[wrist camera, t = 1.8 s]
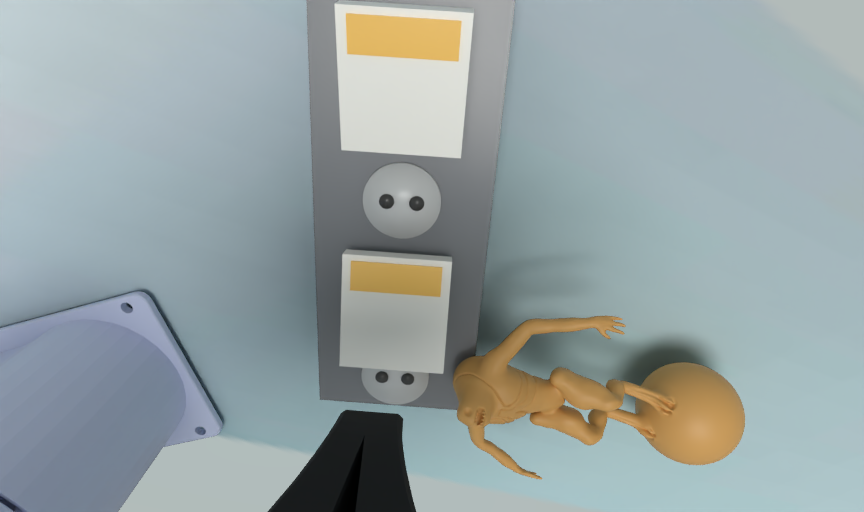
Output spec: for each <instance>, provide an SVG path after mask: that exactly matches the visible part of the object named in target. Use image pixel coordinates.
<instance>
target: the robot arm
mask: <svg viewBox="0 0 864 512" xmlns="http://www.w3.org/2000/svg"><path fill="white" fill-rule="evenodd" d="M126 303H128V304H130V305H131V306H132V308H133V309H131V308H129V307H128V306H127V304H126ZM200 427H203V428H204V429H202V428H200ZM222 427H223V424H222V421H221V419H220V418H219V416H218V414H217V412H216V411H215V409H214V407H213V405H212V404H211V402H210V400H209V398H208V397H207V395H206V393H205V391H204V390H203V388H202V386H201V384H200V383H199V381H198V379H197V377H196V376H195V374H194V372H193V370H192V369H191V367H190V365H189V363H188V362H187V360H186V358H185V356H184V355H183V353H182V351H181V349H180V348H179V346H178V344H177V342H176V341H175V339H174V337H173V335H172V334H171V332H170V330H169V328H168V327H167V325H166V323H165V321H164V320H163V318H162V316H161V314H160V313H159V311H158V309H157V307H156V306H155V304H154V302H153V301H152V299H151V298H150V296H149V295H147V294H146V293H144V292H141V291H137V292H132V293H129V294H125V295H121V296H117V297H114V298H110V299H106V300H103V301H99V302H95V303H91V304H88V305H84V306H80V307H77V308H73V309H69V310H65V311H62V312H58V313H54V314H50V315H47V316H43V317H39V318H36V319H32V320H28V321H24V322H21V323H17V324H13V325H10V326H6V327H2V328H0V512H118V511H119V510H120V508H121V507H122V505H123V504H124V503H125V501H126V500H127V498H128V497H129V495H130V494H131V492H132V491H133V490H134V488H135V487H136V485H137V484H138V482H139V481H140V480H141V478H142V477H143V475H144V474H145V472H146V471H147V469H148V468H149V466H150V465H151V464H152V462H153V461H154V459H155V458H156V457H157V455H158V454H159V452H160V450H161V449H162V448H163V447H166V446H170V445H175V444H180V443H184V442H189V441H193V440H198V439H203V438H208V437H212V436H216V435H218V434H219V433H220V431H221V429H222ZM402 428H403V418H402V417H401V416H400V415H399V414H390V413H378V412H365V411H353V410H345V411H344V412H342V413H341V414H340V416H339V418H338V419H337V421H336V423H335V424H334V426H333V428H332V429H331V431H330V432H329V434H328V435H327V437H326V438H325V440H324V441H323V443H322V444H321V445H320V447H319V448H318V450H317V451H316V453H315V454H314V455H313V457H312V458H311V459H310V461H309V462H308V463H307V465H306V466H305V467H304V469H303V470H302V471H301V472H300V474H299V475H298V476H297V478H296V479H295V480H294V481H293V483H292V484H291V485H290V486H289V488H288V489H287V490H286V491H285V492H284V493H283V495H282V496H281V497H280V498H279V499H278V500H277V501H276V503H275V504H274V505H273V506H272V507H271V509H270V510H269V511H268V512H416V509H415V506H414V502H413V498H412V494H411V490H410V486H409V481H408V476H407V471H406V466H405V460H404V452H403V443H402Z"/></svg>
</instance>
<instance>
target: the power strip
mask: <svg viewBox="0 0 864 512" xmlns="http://www.w3.org/2000/svg"><path fill="white" fill-rule="evenodd" d="M338 1H339V0H307V25H308V55H309V85H310V115H311V145H312V176H313V206H314V236H315V266H316V296H317V326H318V356H319V386H320V400H334V401H347V402H360V403H373V404H387V405H400V406H413V407H426V408H440V409H453V410H458V406H459V401H458V398H457V395H456V392H455V390H454V387H453V376H454V372H455V370H456V368H457V366H458V365H459V364H460V363H461V362H462V361H463V360H465V359H467V358H469V357H473V356H475V352H476V343H477V334H478V325H479V316H480V307H481V298H482V290H483V281H484V272H485V263H486V254H487V245H488V236H489V228H490V219H491V210H492V201H493V192H494V183H495V175H496V166H497V157H498V148H499V139H500V130H501V121H502V113H503V104H504V95H505V86H506V77H507V68H508V59H509V51H510V42H511V33H512V24H513V15H514V6H515V0H349V1H364V2H380V3H395V4H410V5H425V6H440V7H455V8H470V9H474V18H473V29H472V40H471V51H470V62H469V73H468V85H467V96H466V107H465V118H464V129H463V140H462V151H461V158H447V157H433V156H419V155H404V154H390V153H376V152H361V151H347V150H341V132H340V111H339V89H338V68H337V47H336V26H335V5H334V4H335V3H336V2H338ZM346 249H351V250H365V251H379V252H393V253H406V254H420V255H434V256H448V257H452V270H451V282H450V295H449V308H448V320H447V333H446V346H445V359H444V371H443V374H438V373H424V372H411V371H398V370H384V369H371V368H358V367H344V366H339V364H340V325H341V287H342V254H343V253H344V251H345V250H346Z"/></svg>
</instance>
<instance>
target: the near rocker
mask: <svg viewBox="0 0 864 512" xmlns="http://www.w3.org/2000/svg"><path fill="white" fill-rule="evenodd" d="M334 5H335V26H336V47H337V68H338V89H339V111H340V132H341V150H347V151H361V152H376V153H390V154H404V155H419V156H433V157H447V158H461V151H462V140H463V129H464V118H465V107H466V96H467V85H468V73H469V62H470V51H471V40H472V29H473V18H474V9H470V8H455V7H440V6H425V5H410V4H395V3H380V2H364V1H349V0H339V1H338V2H336V3H335V4H334Z"/></svg>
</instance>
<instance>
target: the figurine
mask: <svg viewBox="0 0 864 512" xmlns="http://www.w3.org/2000/svg"><path fill="white" fill-rule="evenodd" d="M613 320H622V318H619V317H613V316H595V317H590V318H559V319H530V320H527V321H525V322H523V323H522V324H521V325H519V326H518V327H517V328H516V329H515V330H514V331H513V332H512V333H511V334H510V335H509V336H507V337H506V338H505V340H504V341H503V342H502V343H501V344H500V345H499V346H498V347H496V348H494V349H493V350H491V351H489V352H488V353H487V354H486V355H485V356H473V357H469V358H467V359H465V360H463V361H462V362H461V363H460V364H459V365H458V366H457V368H456V370H455V372H454V376H453V387H454V390H455V392H456V395H457V398H458V401H459V406H458V410H457V417H458V420H459V421H461V422H462V423H464V424H465V425H467V426H468V429H469V434H470V437H471V440H472V442H473V443H474V444H475V445H476V446H477V447H478V448H480V449H481V450H483V451H485V452H487V453H489V454H491V455H492V456H493V457H494V458H495V459H496V460H498V461H499V462H500V463H501V464H502V465H504V466H505V467H507V468H509V469H511V470H513V471H514V472H516V473H519V474H521V475H525V476H528V477H531V478H536V479H542V478H541V477H540V476H537V475H535V474H536V473H534V472H530V471H526V470H525V469H522V468H521V467H520V466H518V465H517V463H516V462H515V461H514V460H513V459H512V458H511V457H510V456H509V455H508V454H507V453H506V452H504V451H503V450H502V449H500V448H498V447H497V446H496V445H495V444H493V443H492V442H490V441H488V440H486V439H484V427H485V426H486V425H488V424H489V423H490V424H505V423H510V422H512V421H514V420H515V419H518V418H520V417H523V416H525V415H526V413H527V414H529V413H531V415H530V421H531V422H532V423H533V424H534V425H539V426H543V427H546V428H553V429H556V430H558V431H560V432H563V433H565V434H567V435H569V436H572V437H574V438H576V439H578V440H580V441H581V442H583V443H584V444H586V445H593V444H595V443H597V442H598V441H599V440H600V439H601V438H602V436H603V432H604V428H605V426H606V423H607V417H608V418H612V419H615V420H617V421H620V422H623V423H626V424H628V425H631V426H633V427H634V428H636V429H637V430H638V431H639V433H640V434H642V435H643V436H644V437H645V438H646V439H647V441H648V442H649V443H650V444H651V445H652V446H653V447H654V448H655V449H656V450H657V451H659V452H660V453H661V454H663V455H664V456H666V457H668V458H670V459H672V460H674V461H677V462H680V463H684V464H689V465H705V464H710V463H714V462H717V461H719V460H721V459H723V458H725V457H726V456H727V455H729V454H730V453H731V452H732V451H733V450H734V449H735V448H736V446H737V445H738V444H739V442H740V440H741V438H742V435H743V432H744V427H745V414H744V408H743V405H742V402H741V400H740V397H739V396H738V394H737V392H736V391H735V389H734V388H733V386H732V385H731V384H730V383H729V382H728V381H727V380H726V379H725V378H724V377H723V376H721V375H720V374H718V373H717V372H715V371H714V370H712V369H710V368H708V367H705V366H702V365H699V364H695V363H687V362H679V363H672V364H668V365H665V366H662V367H660V368H658V369H656V370H655V371H653V372H652V373H651V374H650V375H649V376H648V377H647V378H646V379H645V380H644V381H643V383H642V384H641V386H639V385H636V384H633V383H630V382H626V381H619V380H616V379H612V380H609V381H608V382H607V383H606V387H604V386H603V385H601V384H600V383H598V382H596V381H594V380H591V379H588V378H586V377H583V376H581V375H578V374H575V373H574V372H572V371H570V370H569V369H566V368H563V367H558V368H555V369H554V370H553V371H552V372H551V375H550V379H548V380H545V379H542V378H539V377H536V376H532V375H530V374H528V373H526V372H524V371H521V370H519V369H516V368H514V367H511V366H509V365H508V363H509V361H510V360H511V359H512V358H513V357H514V356H515V355H516V354H517V353H518V351H519V350H520V349H521V348H522V347H523V346H524V344H525V343H526V342H527V341H528V339H529V338H530V336H531V335H533V334H543V333H550V332H572V331H579V330H584V329H588V328H596V329H597V330H598V331H599V332H600V333H601V334H602V335H603V336H604V337H606V338H608V339H611V338H610V337H609V336H608V335H607V334H606V330H609V331H612V332H617V333H620V334H624V332H622V331H620V330H618V329H616V328H614V327H613V326H622V327H625V325H624V324H622V323H619V322H614V321H613ZM624 393H626V394H628V395H631V396H634V397H636V403H635V411H636V414H634V413H631V412H627V411H624V410H620V409H618V408H619V407H621V406H622V404H623V397H624ZM565 399H566V400H567V401H568V402H569V403H570V404H571V405H573V406H575V407H577V408H579V409H583V410H589V409H593V410H591V411H590V413H589V415H588V421H589V423H590V424H589V423H587V422H586V421H585V420H584V418H583V416H582V414H581V413H580V412H579V411H578V410H576V409H574V408H571V407H568V406H565V405H563V404H564V402H565Z"/></svg>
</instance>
